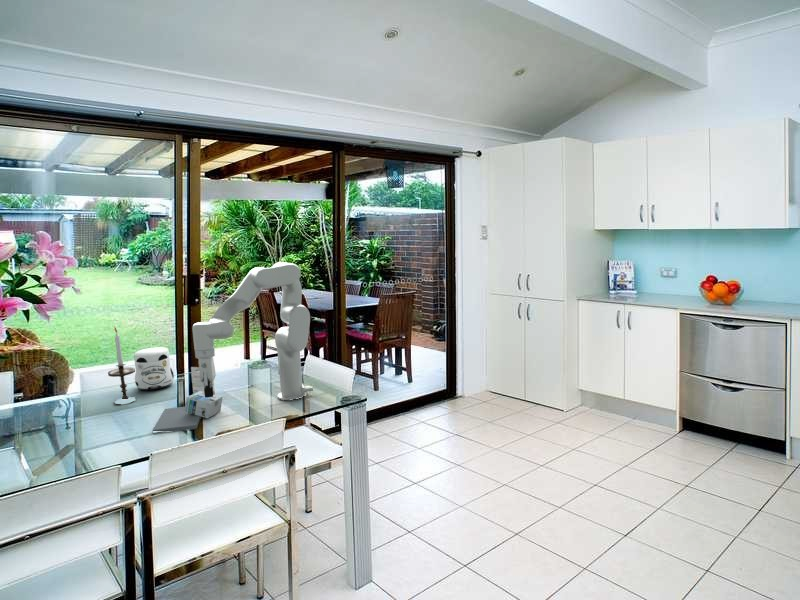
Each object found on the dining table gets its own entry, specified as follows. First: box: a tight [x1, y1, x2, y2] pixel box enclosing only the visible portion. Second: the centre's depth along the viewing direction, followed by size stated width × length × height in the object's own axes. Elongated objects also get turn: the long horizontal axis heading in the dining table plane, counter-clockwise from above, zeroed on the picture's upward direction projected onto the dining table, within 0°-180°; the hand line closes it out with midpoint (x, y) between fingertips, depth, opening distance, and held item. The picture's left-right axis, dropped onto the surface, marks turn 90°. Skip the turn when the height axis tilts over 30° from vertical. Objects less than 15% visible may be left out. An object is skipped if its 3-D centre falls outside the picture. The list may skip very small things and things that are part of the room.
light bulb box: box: [184, 391, 224, 419], centre depth 233 cm, size 11×7×11 cm
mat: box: [152, 406, 202, 432], centre depth 229 cm, size 16×24×2 cm, turn 11°
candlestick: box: [107, 325, 136, 399], centre depth 252 cm, size 11×11×35 cm
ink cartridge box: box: [190, 366, 216, 395], centre depth 255 cm, size 9×5×15 cm, turn 68°
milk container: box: [133, 347, 175, 391], centre depth 274 cm, size 17×17×18 cm
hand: (209, 396), depth 230 cm, fingers closed
